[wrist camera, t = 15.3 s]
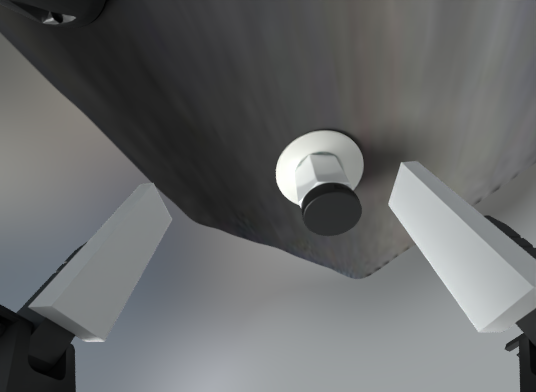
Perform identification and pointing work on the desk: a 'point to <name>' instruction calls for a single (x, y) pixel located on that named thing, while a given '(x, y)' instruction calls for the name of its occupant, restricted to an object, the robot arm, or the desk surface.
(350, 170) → the plate
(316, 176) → the jar
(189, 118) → the desk surface
